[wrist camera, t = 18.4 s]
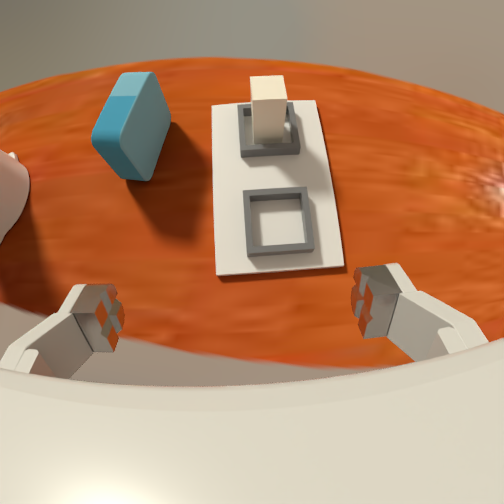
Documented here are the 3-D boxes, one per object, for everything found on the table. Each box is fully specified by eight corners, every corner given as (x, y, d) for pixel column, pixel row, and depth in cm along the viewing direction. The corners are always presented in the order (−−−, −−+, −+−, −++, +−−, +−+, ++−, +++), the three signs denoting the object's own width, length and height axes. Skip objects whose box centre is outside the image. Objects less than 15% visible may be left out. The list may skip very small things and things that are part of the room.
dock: (217, 276, 40) (214, 272, 37) (212, 109, 46) (210, 97, 43) (342, 266, 40) (348, 262, 37) (314, 104, 46) (316, 92, 43)
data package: (147, 117, 46) (123, 68, 35) (173, 118, 46) (153, 66, 34) (123, 182, 44) (87, 140, 32) (149, 185, 43) (118, 141, 32)
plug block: (253, 144, 43) (252, 100, 34) (251, 122, 44) (250, 76, 34) (282, 143, 43) (287, 98, 34) (279, 121, 44) (282, 75, 34)
